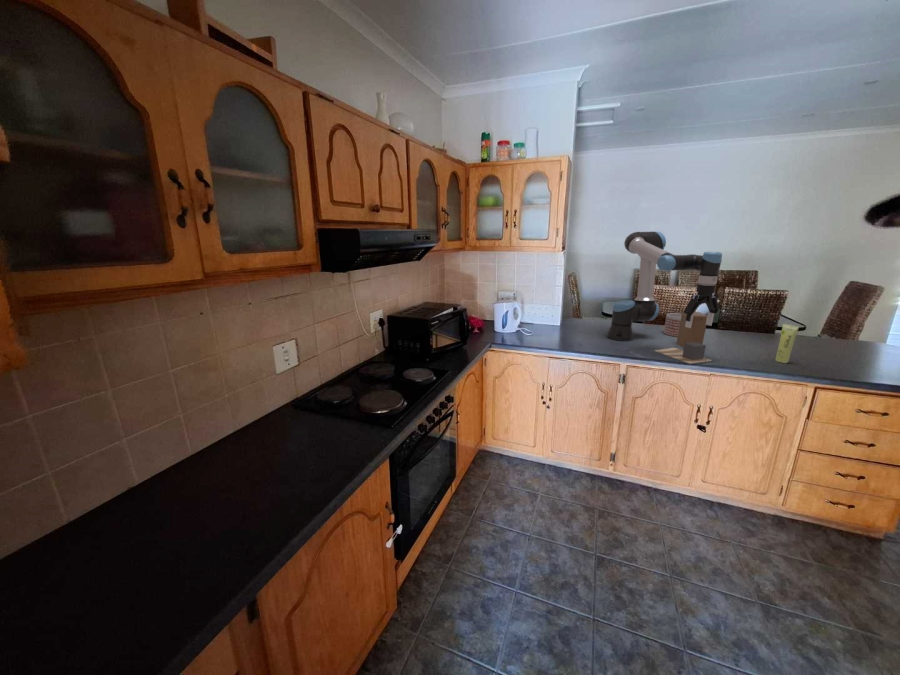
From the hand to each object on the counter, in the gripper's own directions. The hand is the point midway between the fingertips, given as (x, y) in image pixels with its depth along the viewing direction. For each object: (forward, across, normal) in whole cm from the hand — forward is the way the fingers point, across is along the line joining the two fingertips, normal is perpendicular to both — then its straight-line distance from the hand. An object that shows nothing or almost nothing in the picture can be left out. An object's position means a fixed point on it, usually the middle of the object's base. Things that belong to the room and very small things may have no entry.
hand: (698, 326), depth 179 cm
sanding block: (+17, 0, 0) cm, 17 cm away
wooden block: (+19, +19, +18) cm, 32 cm away
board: (+18, 0, +6) cm, 19 cm away
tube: (+19, +42, -15) cm, 48 cm away
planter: (+19, +35, +41) cm, 57 cm away
